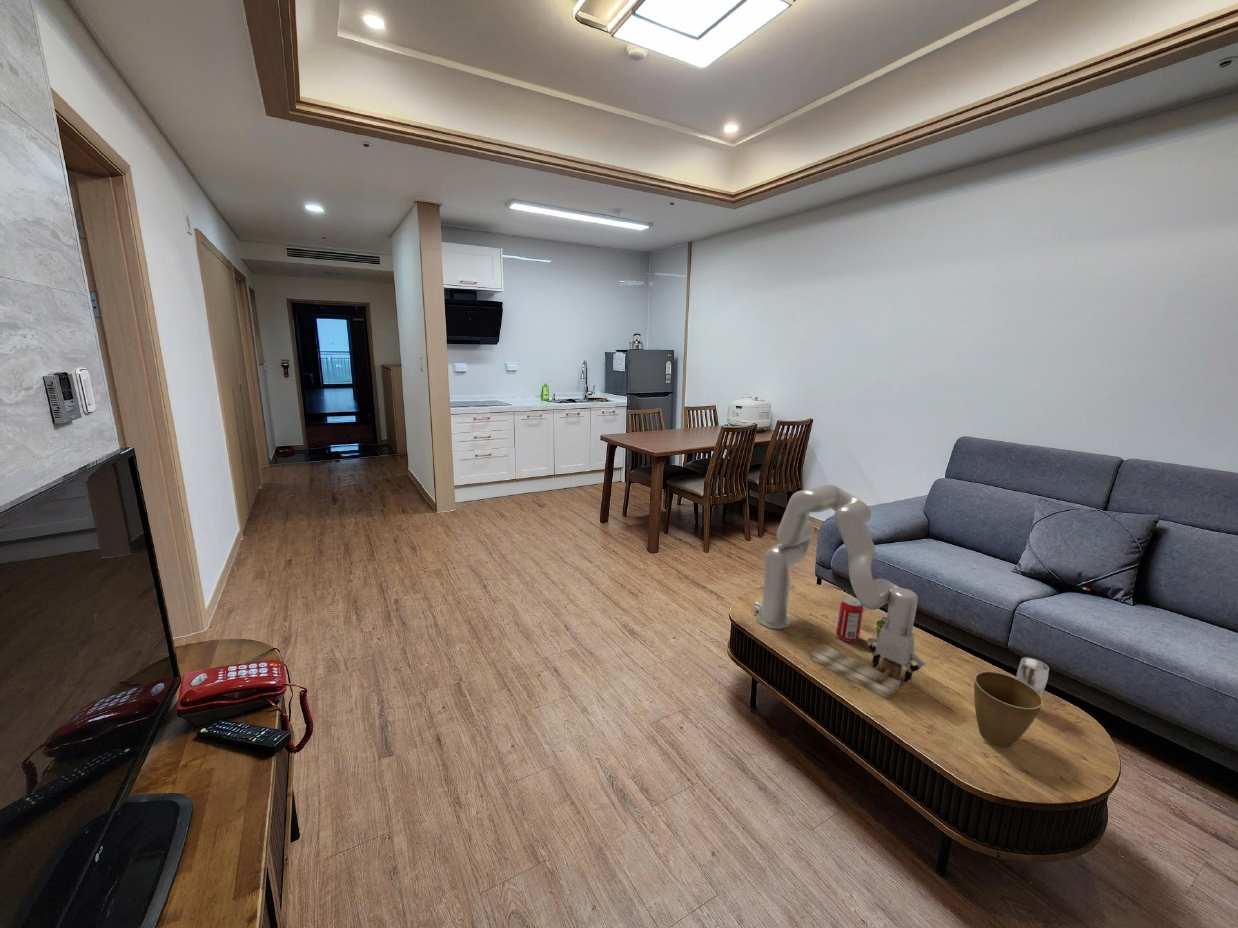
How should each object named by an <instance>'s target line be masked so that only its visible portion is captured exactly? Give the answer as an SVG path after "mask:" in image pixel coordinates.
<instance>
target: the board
mask: <svg viewBox="0 0 1238 928" xmlns="http://www.w3.org/2000/svg"><path fill="white" fill-rule="evenodd" d="M809 654H810V655H809V660H811V661H813V662H815V663H817V664H819V665H820V666H823V667H824V668H827V669H829V671H830V670H831V671H832V672H835V673H836V674H838V675H840V676H842V677H844V678H846V679H849V680H850V681H852V682H854V683H856V684H858V685H859V686H862V687H863V688H866V689H867V690H869V691H871V692H873V693H875V694H877V695H878V696H880V697H883V698H885V699H886V700H889V699H890V698H891V697H892V696H893V694H895V693H896V691H898V689H899V688H900V687H901V681H900V680H899V681H898V680H896V679H894V678H892V677H890V676H887V677H886V678H885V679H884V680H883V682H882V683H880V682H878V681H877V678H878V677H879V676H880V675H881V674H883V673H882V672H880V671H881V670H880V671H879V670H878V669H875V668H874V667H871V666H869V665H867V664H865V663H863V662H861V661H859V660H856V659H854V658H853V657H851V656H848V655H847V654H844V653H842V652H841V651H838V650H836V649H835V648H832V647H830V646H828V645H825V644H824V643H823V644H821V646H819V647H817V648H816V649H815V650H812V652H810V653H809Z"/></svg>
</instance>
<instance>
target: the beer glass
mask: <svg viewBox="0 0 1238 928" xmlns="http://www.w3.org/2000/svg"><path fill="white" fill-rule="evenodd" d="M1049 671H1050V667H1049V666H1048V665H1047V664H1046V663H1044V662H1043V661H1040V660H1039V659H1036V658H1032V657H1022V658H1021V660H1020V662H1019V664H1018V668H1017V672H1016V676H1015V678H1016V679H1018V680H1020V681H1022V682H1024V683H1026V684H1027V685H1029V686H1030V687H1032V688H1033V689H1034V690H1036V691H1037V692H1038V693H1039V695H1040V696H1041V697H1042V694H1043V692H1044V691H1045V688H1046V685H1047V682H1048V679H1049Z"/></svg>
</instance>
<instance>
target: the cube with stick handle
mask: <svg viewBox="0 0 1238 928" xmlns="http://www.w3.org/2000/svg"><path fill="white" fill-rule="evenodd" d="M881 661H882V662H881V664H880V665H881V666H880V672H882V673H883V674H881V675H880V676H879V677H878V678H877V681H878V682H880V683H882V682H883V680H884V679H885V678H886V677H887V676H890V677H892V678H894V679H896V680H898V681H900V680H901V676H902V671H903V670H902V669H903V665H900V664H898V663H896V662H894V661H891V660H889V659H887V658H885V657H883V659H882V660H881Z"/></svg>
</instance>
